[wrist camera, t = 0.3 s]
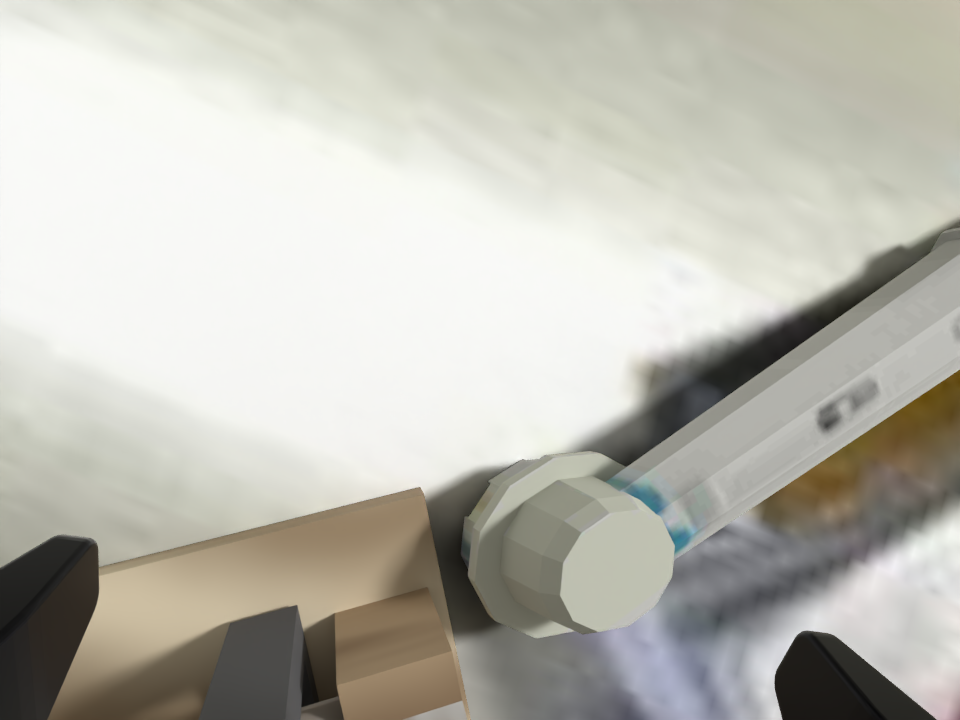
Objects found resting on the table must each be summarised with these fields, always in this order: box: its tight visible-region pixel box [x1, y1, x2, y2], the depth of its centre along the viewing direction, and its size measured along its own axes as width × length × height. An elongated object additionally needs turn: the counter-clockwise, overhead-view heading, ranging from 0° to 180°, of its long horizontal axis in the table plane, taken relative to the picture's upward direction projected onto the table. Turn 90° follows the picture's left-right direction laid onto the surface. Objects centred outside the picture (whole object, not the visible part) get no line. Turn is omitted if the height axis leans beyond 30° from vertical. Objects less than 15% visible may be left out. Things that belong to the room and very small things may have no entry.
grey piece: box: [461, 227, 960, 638], centre depth 24 cm, size 5×7×25 cm
